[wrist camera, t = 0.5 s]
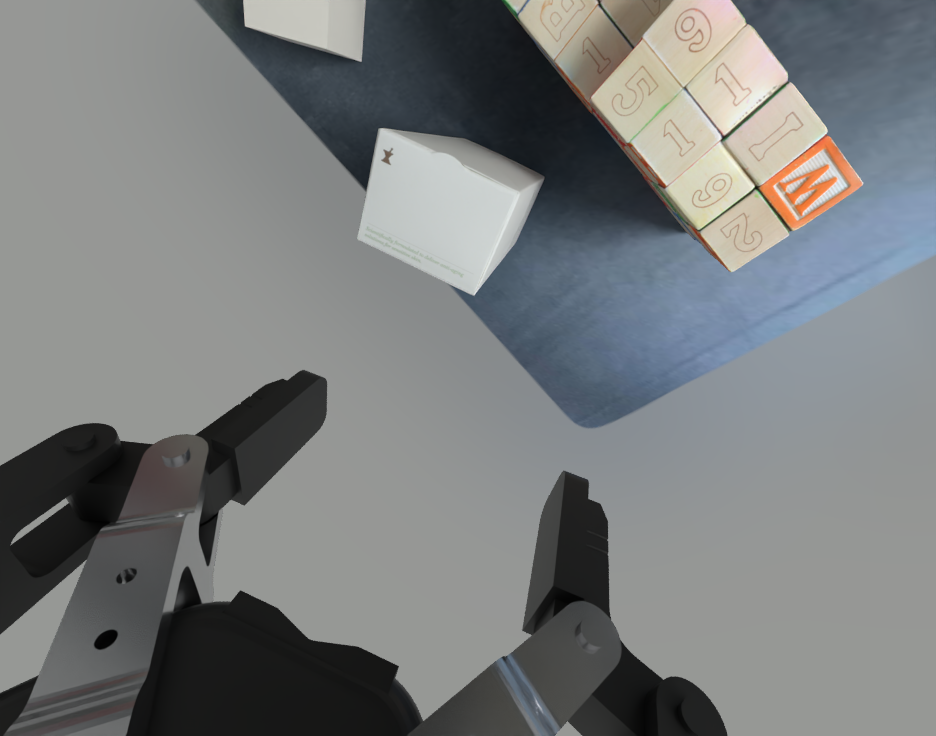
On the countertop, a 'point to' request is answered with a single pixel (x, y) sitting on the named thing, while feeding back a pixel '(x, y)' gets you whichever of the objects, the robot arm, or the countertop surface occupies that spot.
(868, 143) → the countertop surface
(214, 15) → the countertop surface
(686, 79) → the stack of blocks
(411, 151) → the skincare box
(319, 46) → the base block
